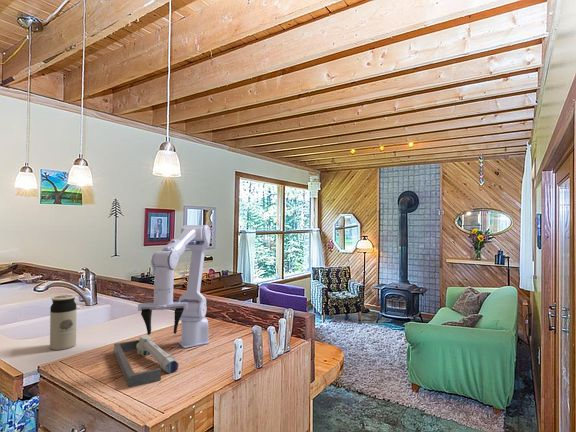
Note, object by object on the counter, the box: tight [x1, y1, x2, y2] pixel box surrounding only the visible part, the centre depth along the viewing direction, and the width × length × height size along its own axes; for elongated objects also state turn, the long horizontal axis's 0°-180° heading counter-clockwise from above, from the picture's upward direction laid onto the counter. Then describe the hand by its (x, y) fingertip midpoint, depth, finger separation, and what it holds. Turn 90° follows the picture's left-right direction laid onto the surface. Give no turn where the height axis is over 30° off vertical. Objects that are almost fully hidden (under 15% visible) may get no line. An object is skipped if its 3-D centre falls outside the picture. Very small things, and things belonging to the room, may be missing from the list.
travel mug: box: [49, 294, 77, 351], centre depth 129 cm, size 8×8×18 cm
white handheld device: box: [136, 334, 180, 375], centre depth 116 cm, size 5×7×25 cm
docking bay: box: [113, 339, 162, 389], centre depth 112 cm, size 8×31×3 cm, turn 33°
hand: (162, 333), depth 111 cm, fingers open, 7 cm apart
